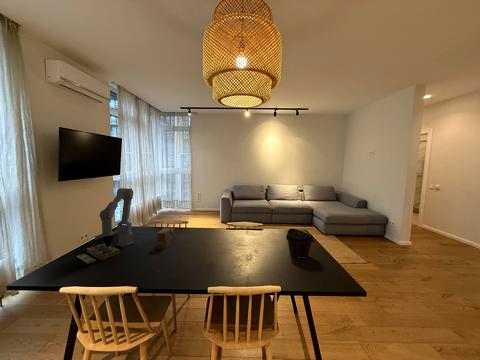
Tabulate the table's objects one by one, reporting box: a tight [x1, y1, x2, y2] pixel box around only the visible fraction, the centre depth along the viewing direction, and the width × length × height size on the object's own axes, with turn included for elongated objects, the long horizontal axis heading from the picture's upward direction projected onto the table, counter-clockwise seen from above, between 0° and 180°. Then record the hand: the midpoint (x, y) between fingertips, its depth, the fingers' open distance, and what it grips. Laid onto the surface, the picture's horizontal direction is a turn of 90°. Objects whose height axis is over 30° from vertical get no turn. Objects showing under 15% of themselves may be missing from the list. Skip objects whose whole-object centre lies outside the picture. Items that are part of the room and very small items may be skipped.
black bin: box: [285, 228, 315, 260], centre depth 154 cm, size 18×20×18 cm
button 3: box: [104, 245, 112, 253], centre depth 147 cm, size 4×4×3 cm
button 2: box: [99, 243, 106, 251], centre depth 150 cm, size 4×4×3 cm
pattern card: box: [76, 253, 97, 264], centre depth 142 cm, size 5×17×1 cm, turn 57°
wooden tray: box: [86, 242, 120, 261], centre depth 150 cm, size 12×20×3 cm, turn 57°
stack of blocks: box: [156, 227, 176, 250], centre depth 170 cm, size 21×6×12 cm, turn 177°
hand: (107, 246), depth 146 cm, fingers closed
